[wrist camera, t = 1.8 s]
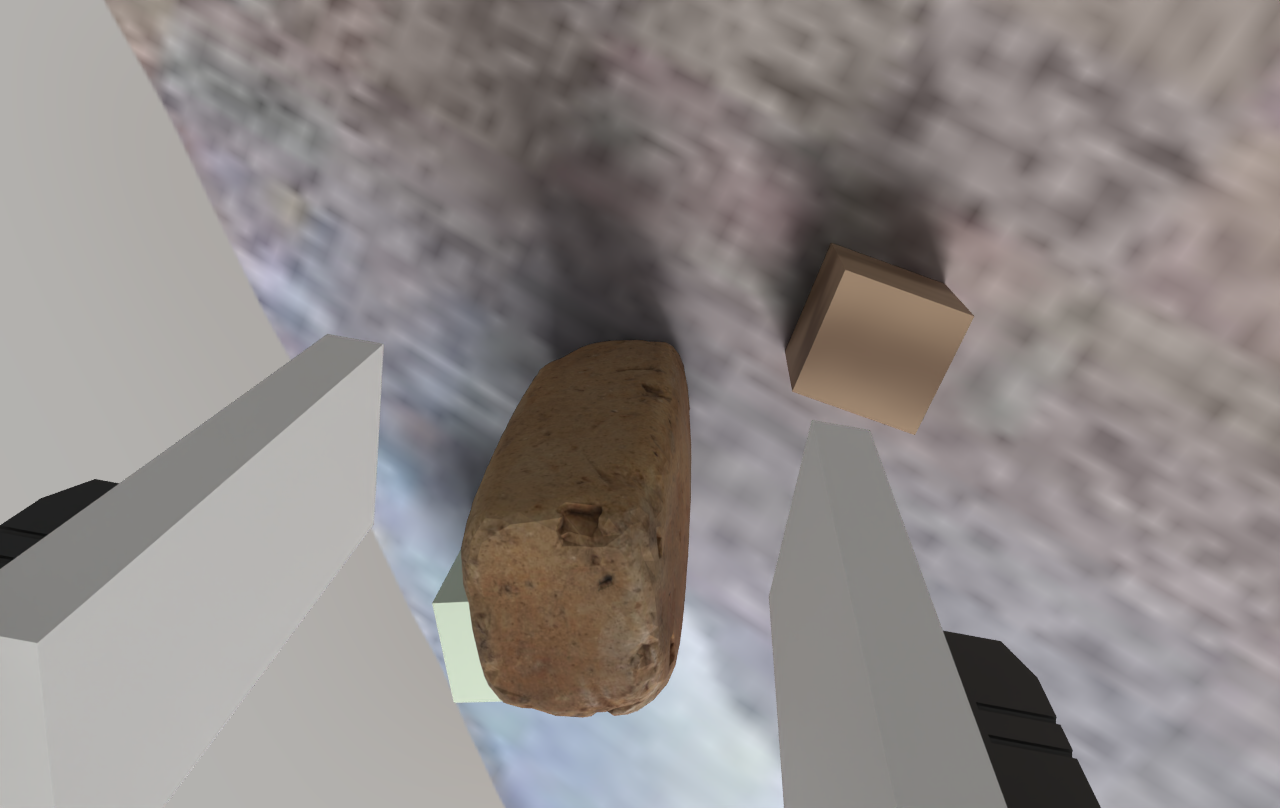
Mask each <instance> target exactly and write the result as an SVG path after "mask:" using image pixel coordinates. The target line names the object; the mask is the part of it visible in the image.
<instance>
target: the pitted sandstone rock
mask: <svg viewBox="0 0 1280 808" xmlns="http://www.w3.org/2000/svg"><path fill="white" fill-rule="evenodd" d="M689 410H690V407H689V397H688V387H687V382H686V377H685V371H684V366H683V363H682V360H681V358H680V355H679V354H678V353H677V351H676V350H675V348H674V347H673V346H671V345H670V344H668V343H665V342H648V341H643V340H617V341H605V342H599V343H594V344H589V345H587V346H584V347H582V348H579V349H577V350H575V351H574V352H571V353H570V354H568V355H567V356H565V357H563V358H560V359H558V360H555V361H553V362H551V363H549V364H547V365H545V366H544V367H543V368H542V369H541V370H540V371H539V373H538V375H537V376H536V377H535V378H534V380H533V381H532V383H531V384H530V386H529V388H528V389H527V391H526V392H525V394H524V395H523V397H522V399H521V401H520V402H519V404H518V406H517V408H516V409H515V411H514V413H513V415H512V417H511V419H510V421H509V423H508V425H507V427H506V429H505V431H504V433H503V434H502V436H501V438H500V441H499V443H498V445H497V447H496V449H495V451H494V454H493V456H492V458H491V460H490V463H489V465H488V466H487V469H486V471H485V474H484V477H483V479H482V482H481V484H480V486H479V489H478V491H477V493H476V496H475V498H474V500H473V503H472V508H471V511H470V514H469V517H468V520H467V523H466V528H465V533H464V537H463V542H462V547H461V560H462V574H463V585H464V589H465V592H466V596H467V599H468V603H469V609H470V616H471V624H472V630H473V634H474V639H475V643H476V647H477V651H478V656H479V660H480V664H481V667H482V670H483V674H484V677H485V679H486V681H487V683H488V685H489V687H490V688H491V689H492V690H493V692H494V693H495V694H496V695H497V697H498V698H499V699H500V700H502V701H503V702H504V703H506V704H510V705H514V706H517V707H521V708H533V709H536V710H539V711H543V712H546V713H549V714H552V715H555V716H570V717H589V716H592V715H594V714H595V713H596V712H606V711H608V712H609V713H611V714H612V715H614V716H617V715H626V714H629V713H632V712H635V711H638V710H639V709H641V708H642V707H644V706H645V705H647V704H648V703H650V702H651V701H653V700H654V699H655V698H656V696H657V695H658V694H659V693H660V692H661V690H662V689H663V688H664V687H665V686H666V685H667V683H668V681H669V679H670V676H671V674H672V672H673V669H674V667H675V665H676V659H677V654H678V649H679V645H680V637H681V630H682V621H683V612H684V601H685V590H686V574H687V562H688V546H689V523H690V503H691V435H690V418H689Z"/></svg>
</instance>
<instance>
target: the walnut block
mask: <svg viewBox="0 0 1280 808" xmlns="http://www.w3.org/2000/svg"><path fill="white" fill-rule="evenodd" d="M973 318H974V315H973V314H972V313H971V312H970V311H969V310H968V309H967V308H966V307H965V305H964V304H963V303H962V302H961V301H960V300H959V299H958V298H957V297H956V296H955V294H954V293H953V292H952V291H951V290H950V289H949V288H948V287H947V286H946V285H945V284H944V283H941V282H938V281H936V280H933V279H930V278H927V277H925V276H922V275H919V274H916V273H914V272H911V271H908V270H905V269H902V268H900V267H897V266H894V265H891V264H889V263H886V262H883V261H880V260H878V259H875V258H872V257H869V256H867V255H864V254H861V253H858V252H855V251H853V250H850V249H847V248H844V247H842V246H839V245H836V244H833V243H831V245H830V247H829V249H828V252H827V254H826V256H825V259H824V261H823V263H822V266H821V268H820V271H819V273H818V275H817V278H816V280H815V282H814V285H813V287H812V289H811V292H810V294H809V296H808V299H807V301H806V304H805V306H804V308H803V311H802V313H801V315H800V318H799V320H798V322H797V325H796V327H795V329H794V332H793V334H792V337H791V339H790V341H789V344H788V346H787V348H786V351H785V354H786V360H787V365H788V371H789V376H790V381H791V387H792V392H795V393H798V394H801V395H804V396H806V397H809V398H812V399H815V400H818V401H821V402H823V403H826V404H829V405H832V406H835V407H837V408H840V409H843V410H846V411H849V412H852V413H854V414H857V415H860V416H863V417H866V418H868V419H871V420H874V421H877V422H880V423H883V424H885V425H888V426H891V427H894V428H897V429H900V430H902V431H905V432H908V433H911V434H914V435H915V434H916V432H917V430H918V428H919V426H920V424H921V422H922V420H923V418H924V416H925V414H926V412H927V410H928V408H929V406H930V404H931V402H932V400H933V398H934V396H935V394H936V392H937V390H938V388H939V386H940V384H941V382H942V380H943V378H944V376H945V374H946V372H947V370H948V368H949V366H950V364H951V362H952V360H953V358H954V356H955V354H956V352H957V350H958V348H959V346H960V344H961V342H962V340H963V338H964V336H965V334H966V332H967V330H968V328H969V326H970V324H971V322H972V320H973Z"/></svg>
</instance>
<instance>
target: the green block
mask: <svg viewBox="0 0 1280 808" xmlns="http://www.w3.org/2000/svg"><path fill="white" fill-rule="evenodd" d="M432 604H433V609H434V614H435V618H436V623H437V627H438V632H439V637H440V641H441V646H442V650H443V655H444V660H445V664H446V669H447V673H448V678H449V683H450V687H451V692H452V697H453V701H454V703H461V702H495V701H502V700H500V699H499V698H498V697H497V695H496V694H495V693H494V692H493V690H492V689H491V688H490V687H489V685H488V683H487V681H486V679H485V677H484V674H483V670H482V667H481V664H480V660H479V656H478V651H477V647H476V643H475V639H474V634H473V630H472V624H471V616H470V609H469V603H468V599H467V596H466V592H465V589H464V585H463V574H462V560H461V550H460V552H459V554H458V556H457V558H456V560H455V562H454V563H453V565H452V567H451V569H450V571H449V573H448V575H447V577H446V578H445V580H444V582H443V584H442V586H441V588H440V590H439V592H438V594H437V595H436V597H435V599H434V601H433V603H432Z"/></svg>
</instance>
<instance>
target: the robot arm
mask: <svg viewBox="0 0 1280 808" xmlns="http://www.w3.org/2000/svg"><path fill="white" fill-rule="evenodd" d="M383 346H384V344H380V343H375V342H369V341H363V340H358V339H352V338H347V337H341V336H335V335H330V334H327V335H325V336H324V337H323V338H321V339H320V340H318V341H317V342H316V343H314V344H313V345H312V346H310V347H309V348H307V349H306V350H305V351H303V352H302V353H300V354H299V355H298V356H296V357H295V358H293V359H292V360H291V361H289V362H288V363H287V364H285V365H284V366H283V367H281V368H280V369H278V370H277V371H275V372H274V373H273V374H271V375H270V376H268V377H267V378H266V379H264V380H263V381H261V382H260V383H259V384H257V385H256V386H254V387H253V388H252V389H250V390H249V391H247V392H246V393H245V394H243V395H242V396H241V397H239V398H238V399H237V400H235V401H234V402H232V403H231V404H229V405H228V406H227V407H225V408H224V409H223V410H221V411H220V412H218V413H217V414H216V415H214V416H213V417H211V418H210V419H208V420H207V421H206V422H204V423H203V424H202V425H200V426H199V427H197V428H196V429H195V430H193V431H192V432H190V433H189V434H188V435H186V436H185V437H183V438H182V439H181V440H179V441H178V442H176V443H175V444H174V445H172V446H171V447H169V448H168V449H167V450H165V451H164V452H163V453H161V454H160V455H158V456H157V457H156V458H154V459H153V460H151V461H150V462H149V463H147V464H146V465H145V466H143V467H142V468H140V469H139V470H137V471H136V472H135V473H133V474H132V475H131V476H129V477H128V478H126V479H125V480H124V481H122V482H121V483H113V482H108V481H103V480H97V479H94V480H91V481H88V482H86V483H83V484H80V485H77V486H74V487H72V488H69V489H66V490H63V491H60V492H58V493H55V494H52V495H49V496H46V497H44V498H41V499H39V500H38V501H36V502H35V503H33V504H32V505H30V506H29V507H27V508H26V509H24V510H23V511H21V512H20V513H18V514H17V515H15V516H13V517H12V518H11V519H9V520H8V521H6V522H4V523H3V524H1V525H0V808H164V806H165V805H166V804H167V802H168V801H169V800H170V798H171V797H172V796H173V794H174V793H175V792H176V790H177V789H178V788H179V786H180V785H181V783H182V782H183V781H184V779H185V778H186V777H187V775H188V774H189V773H190V771H191V770H192V769H193V767H194V766H195V765H196V763H197V762H198V761H199V759H200V758H201V757H202V755H203V754H204V753H205V751H206V750H207V748H208V747H209V746H210V744H211V743H212V742H213V740H214V739H215V737H216V736H217V735H218V734H219V732H220V731H221V730H222V728H223V727H224V726H225V724H226V723H227V722H228V720H229V719H230V717H231V716H232V714H233V713H234V712H235V711H236V709H237V708H238V706H239V705H240V704H241V703H242V701H243V700H244V699H245V697H246V696H247V695H248V693H249V692H250V691H251V689H252V688H253V686H254V685H255V684H256V682H257V681H258V680H259V678H260V677H261V676H262V674H263V673H264V672H265V670H266V669H267V668H268V666H269V665H270V663H271V662H272V661H273V660H274V658H275V657H276V655H277V654H278V653H279V651H280V650H281V649H282V647H283V646H284V645H285V643H286V642H287V640H288V639H289V638H290V637H291V635H292V634H293V633H294V631H295V630H296V629H297V627H298V626H299V624H300V623H301V622H302V620H303V619H304V618H305V616H306V615H307V614H308V612H309V611H310V610H311V608H312V607H313V606H314V604H315V603H316V602H317V600H318V599H319V598H320V596H321V595H322V594H323V592H324V591H325V589H326V588H327V587H328V585H329V584H330V583H331V581H332V580H333V579H334V577H335V576H336V575H337V573H338V572H339V570H340V569H341V568H342V567H343V565H344V564H345V563H346V561H347V560H348V558H349V557H350V556H351V554H352V553H353V552H354V550H355V549H356V547H357V546H358V545H359V544H360V542H361V541H362V540H363V538H364V537H365V536H366V534H367V533H368V531H369V530H370V529H371V527H372V526H373V525H374V512H375V494H376V475H377V457H378V438H379V420H380V401H381V383H382V364H383ZM769 605H770V619H771V633H772V646H773V660H774V674H775V688H776V702H777V716H778V730H779V744H780V758H781V772H782V785H783V799H784V808H1101V807H1100V805H1099V803H1098V801H1097V799H1096V797H1095V795H1094V793H1093V791H1092V789H1091V787H1090V785H1089V783H1088V781H1087V778H1086V776H1085V774H1084V772H1083V770H1082V768H1081V766H1080V764H1079V762H1078V760H1077V759H1075V758H1072V751H1073V750H1072V748H1071V746H1070V744H1069V742H1068V739H1067V737H1066V735H1065V733H1064V731H1063V729H1062V727H1061V725H1059V724H1056V715H1055V713H1054V711H1053V709H1052V707H1051V705H1050V703H1049V701H1048V698H1047V696H1046V694H1045V692H1044V690H1043V688H1042V686H1041V684H1040V682H1039V680H1038V678H1037V677H1036V676H1035V675H1034V674H1033V673H1032V672H1031V671H1030V670H1029V669H1028V668H1027V667H1026V666H1025V665H1024V664H1023V663H1022V662H1021V661H1020V660H1019V659H1018V658H1017V657H1016V656H1015V655H1014V654H1013V653H1012V652H1011V651H1010V650H1009V649H1008V648H1007V647H1006V646H1005V645H1004V644H1003V643H1002V642H1001V641H996V640H991V639H986V638H980V637H975V636H969V635H964V634H958V633H953V632H947V631H943V630H942V627H941V624H940V622H939V619H938V616H937V613H936V611H935V608H934V605H933V603H932V600H931V597H930V594H929V592H928V589H927V586H926V583H925V581H924V578H923V575H922V572H921V570H920V567H919V564H918V561H917V559H916V556H915V553H914V550H913V548H912V545H911V542H910V539H909V537H908V534H907V531H906V529H905V526H904V523H903V520H902V518H901V515H900V512H899V509H898V507H897V504H896V501H895V498H894V496H893V493H892V490H891V487H890V485H889V482H888V479H887V476H886V474H885V471H884V468H883V465H882V463H881V460H880V457H879V455H878V452H877V449H876V446H875V444H874V441H873V438H872V435H871V433H870V430H865V429H859V428H854V427H848V426H843V425H837V424H831V423H826V422H820V421H814V420H812V421H811V426H810V430H809V434H808V438H807V442H806V446H805V450H804V454H803V458H802V463H801V467H800V471H799V475H798V479H797V483H796V487H795V491H794V495H793V500H792V504H791V508H790V512H789V516H788V520H787V524H786V528H785V532H784V537H783V541H782V545H781V549H780V553H779V557H778V561H777V565H776V569H775V574H774V578H773V582H772V586H771V590H770V594H769Z"/></svg>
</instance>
